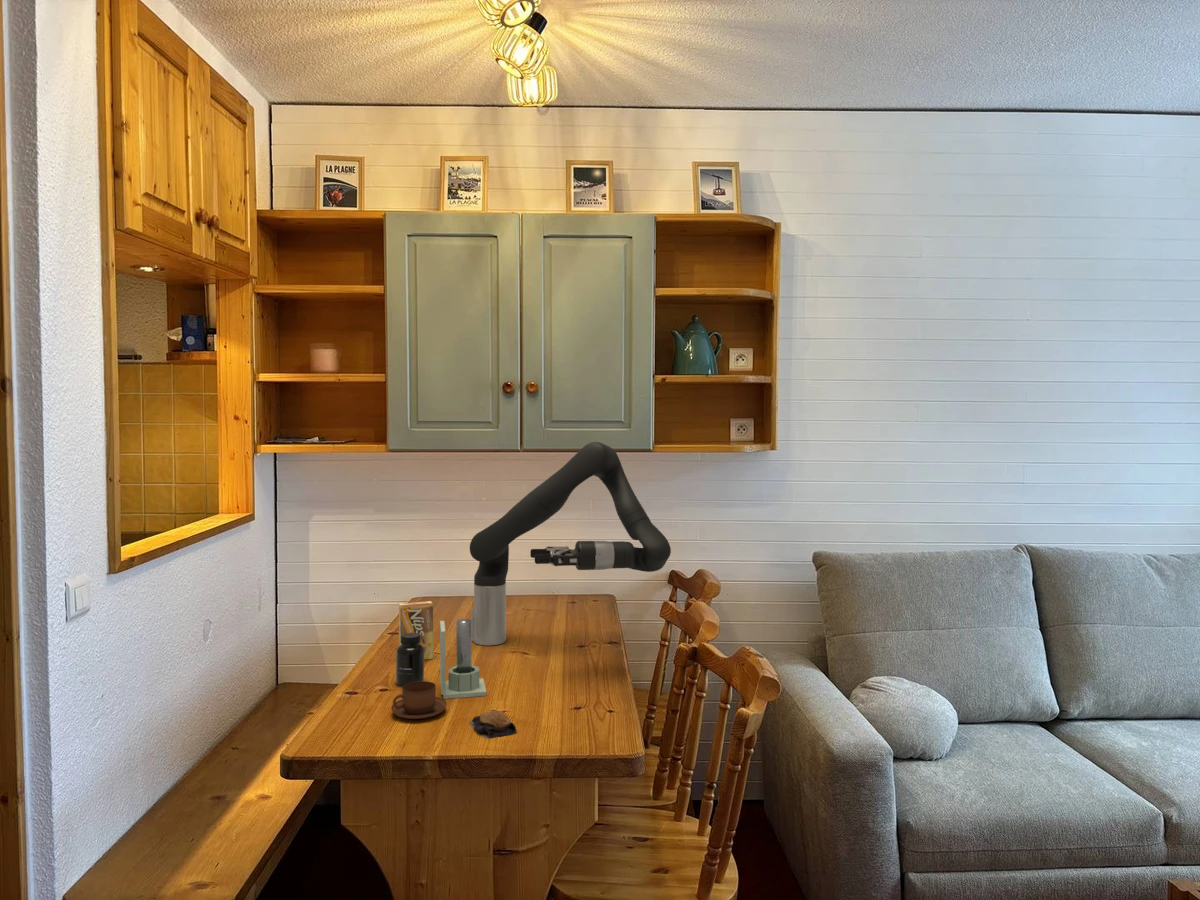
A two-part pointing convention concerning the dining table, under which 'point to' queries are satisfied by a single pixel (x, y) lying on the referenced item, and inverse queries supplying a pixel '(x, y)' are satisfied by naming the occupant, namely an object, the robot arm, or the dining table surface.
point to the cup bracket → (458, 676)
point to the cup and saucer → (418, 701)
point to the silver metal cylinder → (464, 645)
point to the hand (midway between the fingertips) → (532, 556)
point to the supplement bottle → (409, 659)
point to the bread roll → (493, 725)
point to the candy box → (418, 623)
